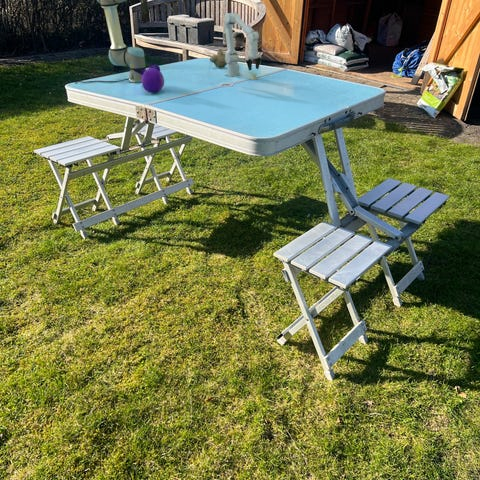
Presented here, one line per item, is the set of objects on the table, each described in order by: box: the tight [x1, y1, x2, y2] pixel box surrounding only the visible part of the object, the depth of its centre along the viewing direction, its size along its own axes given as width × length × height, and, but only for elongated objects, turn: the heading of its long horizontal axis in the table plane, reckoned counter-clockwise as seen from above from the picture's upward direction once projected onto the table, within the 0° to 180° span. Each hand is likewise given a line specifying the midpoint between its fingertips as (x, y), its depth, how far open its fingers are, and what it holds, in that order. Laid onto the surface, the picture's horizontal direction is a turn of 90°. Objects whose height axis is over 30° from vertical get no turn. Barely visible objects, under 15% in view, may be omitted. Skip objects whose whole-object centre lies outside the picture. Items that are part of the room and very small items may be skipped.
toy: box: [134, 64, 165, 94], centre depth 304 cm, size 16×18×27 cm
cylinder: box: [250, 72, 257, 81], centre depth 337 cm, size 4×4×4 cm
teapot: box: [209, 48, 227, 69], centre depth 380 cm, size 21×12×15 cm, turn 120°
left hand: (146, 22), depth 360 cm, fingers open, 13 cm apart
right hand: (253, 69), depth 335 cm, fingers open, 7 cm apart
